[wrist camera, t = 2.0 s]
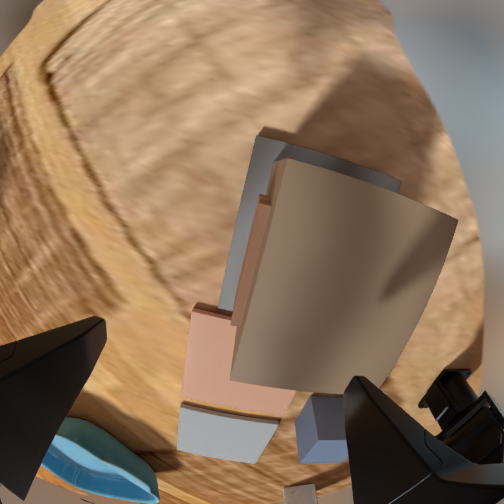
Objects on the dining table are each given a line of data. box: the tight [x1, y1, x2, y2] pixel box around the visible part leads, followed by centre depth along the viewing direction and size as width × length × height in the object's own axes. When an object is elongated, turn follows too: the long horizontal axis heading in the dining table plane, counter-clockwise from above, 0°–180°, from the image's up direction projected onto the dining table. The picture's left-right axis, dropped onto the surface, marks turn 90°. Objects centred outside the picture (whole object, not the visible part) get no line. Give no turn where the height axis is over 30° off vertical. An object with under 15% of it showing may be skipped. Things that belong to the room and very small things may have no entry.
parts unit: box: [218, 135, 458, 394], centre depth 15 cm, size 11×13×10 cm
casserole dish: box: [41, 417, 160, 503], centre depth 30 cm, size 37×22×7 cm, turn 118°
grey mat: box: [177, 403, 278, 463], centre depth 27 cm, size 11×11×1 cm
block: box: [295, 395, 348, 463], centre depth 23 cm, size 5×5×6 cm
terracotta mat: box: [181, 308, 296, 415], centre depth 23 cm, size 11×11×1 cm
